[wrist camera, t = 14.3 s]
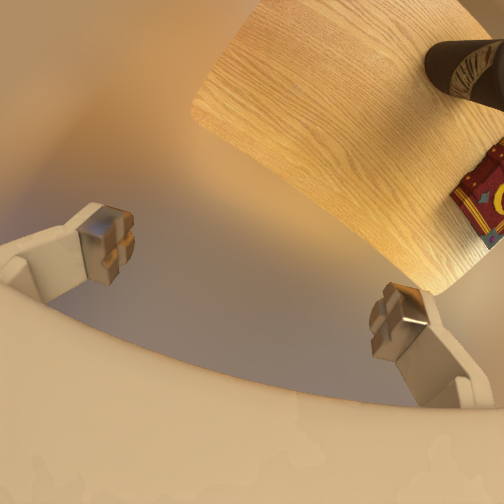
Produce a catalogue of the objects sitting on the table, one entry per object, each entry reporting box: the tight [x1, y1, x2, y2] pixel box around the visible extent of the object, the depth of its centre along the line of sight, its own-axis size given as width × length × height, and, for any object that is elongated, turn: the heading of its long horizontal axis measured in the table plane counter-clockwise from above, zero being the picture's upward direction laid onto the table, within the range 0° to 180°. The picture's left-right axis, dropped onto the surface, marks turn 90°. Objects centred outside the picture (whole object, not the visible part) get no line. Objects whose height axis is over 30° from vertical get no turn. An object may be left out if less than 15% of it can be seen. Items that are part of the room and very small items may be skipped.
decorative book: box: [450, 138, 504, 250], centre depth 33 cm, size 11×16×5 cm
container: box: [425, 39, 504, 112], centre depth 20 cm, size 9×9×20 cm
